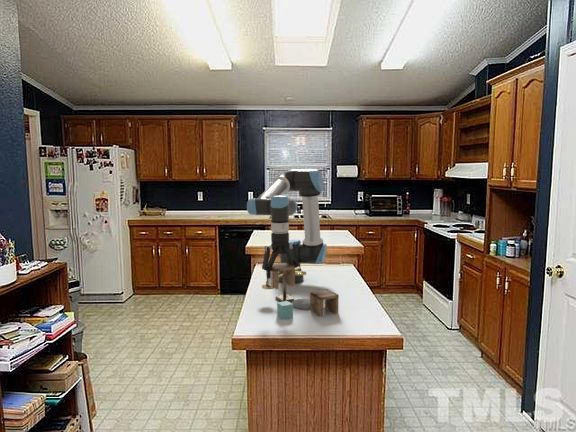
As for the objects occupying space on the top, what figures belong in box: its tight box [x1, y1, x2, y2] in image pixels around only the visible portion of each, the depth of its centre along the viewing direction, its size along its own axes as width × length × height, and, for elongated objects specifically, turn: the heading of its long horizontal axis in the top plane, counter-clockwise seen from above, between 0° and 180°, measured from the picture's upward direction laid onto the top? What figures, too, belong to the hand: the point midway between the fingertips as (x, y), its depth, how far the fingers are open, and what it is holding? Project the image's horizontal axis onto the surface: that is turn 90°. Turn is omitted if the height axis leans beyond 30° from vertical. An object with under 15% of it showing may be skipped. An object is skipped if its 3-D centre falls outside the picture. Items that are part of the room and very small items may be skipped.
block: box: [276, 301, 294, 321], centre depth 171 cm, size 5×5×6 cm
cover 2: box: [309, 289, 339, 318], centre depth 177 cm, size 9×9×8 cm
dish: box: [291, 298, 310, 311], centre depth 186 cm, size 12×12×1 cm
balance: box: [261, 266, 307, 303], centre depth 193 cm, size 8×23×16 cm, turn 117°
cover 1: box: [266, 262, 296, 290], centre depth 171 cm, size 9×9×8 cm
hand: (280, 283), depth 171 cm, fingers closed on cover 1, 9 cm apart
